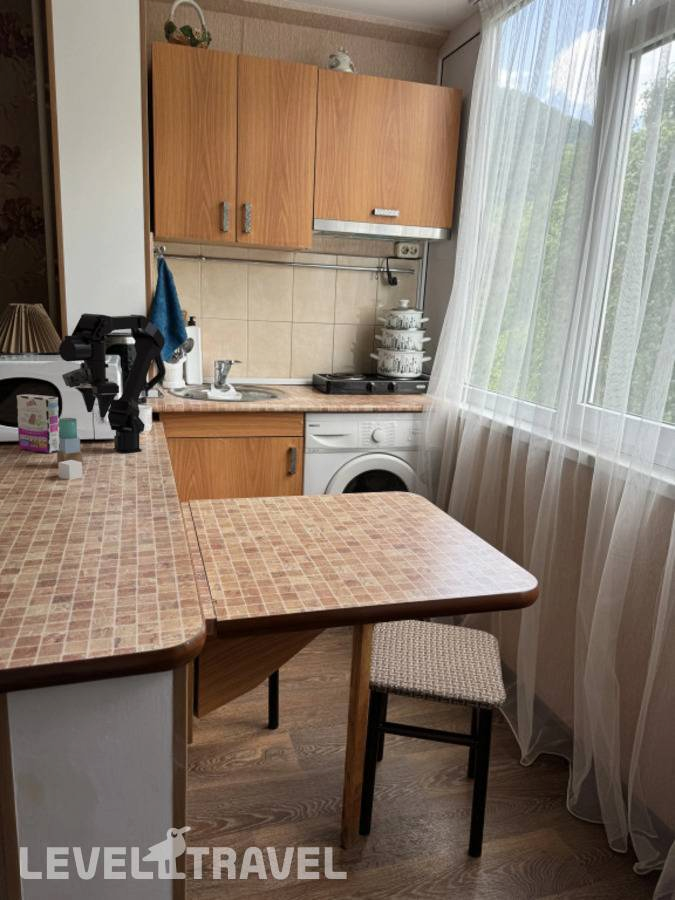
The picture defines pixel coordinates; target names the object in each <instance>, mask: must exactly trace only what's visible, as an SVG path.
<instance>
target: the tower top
mask: <svg viewBox="0 0 675 900" xmlns="http://www.w3.org/2000/svg"><path fill="white" fill-rule="evenodd" d="M59 441H60V451H61V452H63V453H65V454H68V453H77V452H80V451H81V438H80V437H79V436H77V438H73V439H62V438H60V437H59Z"/></svg>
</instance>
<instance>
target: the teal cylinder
mask: <svg viewBox="0 0 675 900" xmlns="http://www.w3.org/2000/svg"><path fill="white" fill-rule="evenodd" d="M77 424H78V423H77V418H76V417H75V418H74V417H61V418H59V434H60V438H62V439H73V438H77V437H78V427H77V426H78V425H77Z"/></svg>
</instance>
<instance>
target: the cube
mask: <svg viewBox="0 0 675 900" xmlns="http://www.w3.org/2000/svg"><path fill="white" fill-rule="evenodd" d="M57 466H58V478H60V479H64V480H68V481H71V480H74V479H78V478H79V479H80V478H82V477H83V466H82V462H79V461H75V460H68V461H63V462H59V463H57Z"/></svg>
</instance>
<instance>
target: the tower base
mask: <svg viewBox="0 0 675 900" xmlns="http://www.w3.org/2000/svg"><path fill="white" fill-rule="evenodd" d="M56 456H57V459H56V460H57V462H56V463H57V464H58V463H59V462H63V461H68V460H75V461H79V462H82V467H83V466H84V460H83V459H84V457H83V456H84V455H83V452H82V451H81V450H80V452H77V453H68V454H65V453H63V452H61V451H60V450H58V451H57V452H56Z"/></svg>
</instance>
